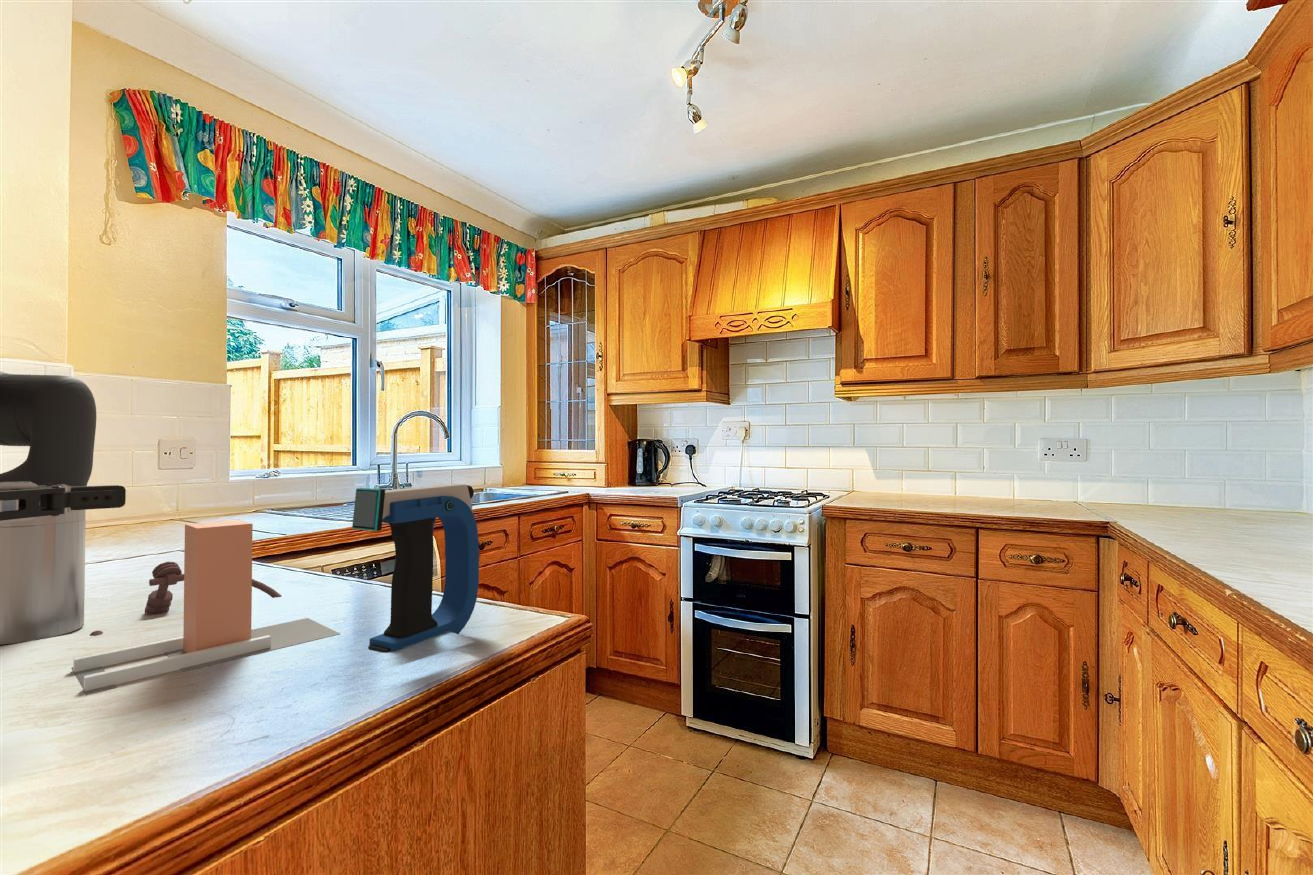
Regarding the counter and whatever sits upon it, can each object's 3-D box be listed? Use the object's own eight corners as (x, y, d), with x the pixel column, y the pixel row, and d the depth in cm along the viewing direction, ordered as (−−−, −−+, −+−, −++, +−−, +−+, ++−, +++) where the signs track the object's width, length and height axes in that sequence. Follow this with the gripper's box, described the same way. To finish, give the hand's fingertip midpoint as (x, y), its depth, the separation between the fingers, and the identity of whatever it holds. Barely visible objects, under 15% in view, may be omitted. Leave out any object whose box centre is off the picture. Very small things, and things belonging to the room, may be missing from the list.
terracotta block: (183, 650, 64) (184, 524, 64) (236, 638, 68) (238, 519, 68) (195, 660, 61) (197, 528, 61) (251, 648, 65) (252, 523, 65)
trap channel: (71, 682, 59) (71, 655, 59) (307, 629, 76) (307, 608, 76) (86, 710, 53) (87, 681, 53) (340, 646, 70) (340, 623, 70)
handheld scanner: (345, 665, 64) (349, 487, 64) (454, 624, 78) (457, 479, 78) (374, 673, 62) (378, 490, 62) (480, 630, 76) (483, 481, 76)
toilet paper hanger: (98, 644, 67) (67, 571, 74) (85, 698, 69) (56, 622, 76) (294, 601, 86) (255, 546, 92) (279, 645, 88) (242, 588, 94)
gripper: (-186, 463, 41) (138, 459, 54) (-164, 460, 49) (112, 458, 63) (-189, 569, 41) (137, 539, 54) (-166, 548, 49) (111, 527, 63)
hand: (123, 495), depth 58 cm, fingers closed
